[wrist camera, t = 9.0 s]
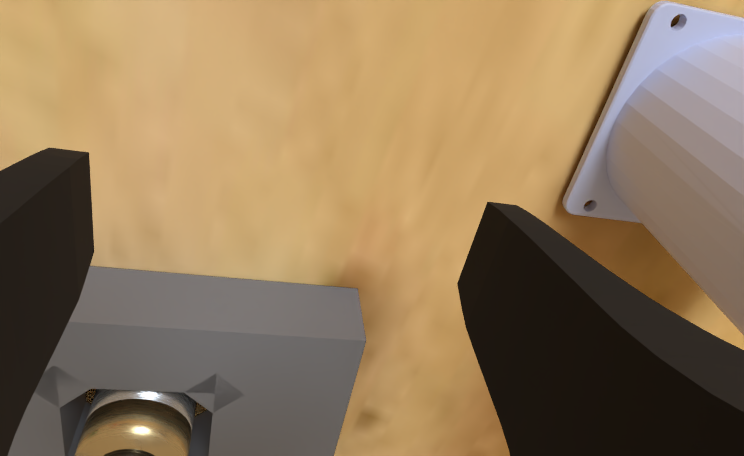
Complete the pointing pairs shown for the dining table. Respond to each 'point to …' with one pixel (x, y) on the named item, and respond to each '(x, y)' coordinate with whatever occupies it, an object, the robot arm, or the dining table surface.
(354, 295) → the socket plate
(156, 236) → the dining table surface
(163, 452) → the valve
